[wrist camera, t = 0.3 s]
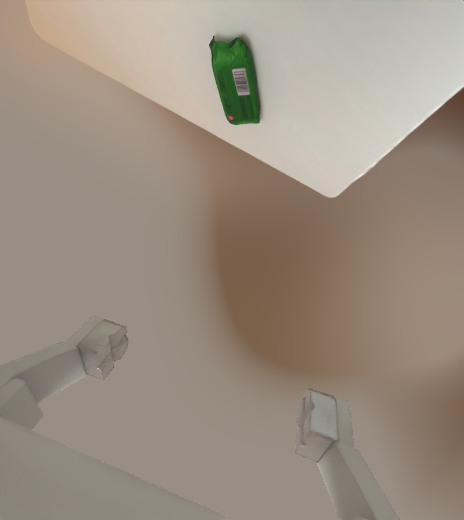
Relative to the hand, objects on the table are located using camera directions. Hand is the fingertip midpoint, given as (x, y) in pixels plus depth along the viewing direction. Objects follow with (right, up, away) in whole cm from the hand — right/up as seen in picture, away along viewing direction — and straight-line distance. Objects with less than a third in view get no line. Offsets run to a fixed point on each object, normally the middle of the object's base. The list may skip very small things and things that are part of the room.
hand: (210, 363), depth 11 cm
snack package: (+3, +40, +40) cm, 57 cm away
